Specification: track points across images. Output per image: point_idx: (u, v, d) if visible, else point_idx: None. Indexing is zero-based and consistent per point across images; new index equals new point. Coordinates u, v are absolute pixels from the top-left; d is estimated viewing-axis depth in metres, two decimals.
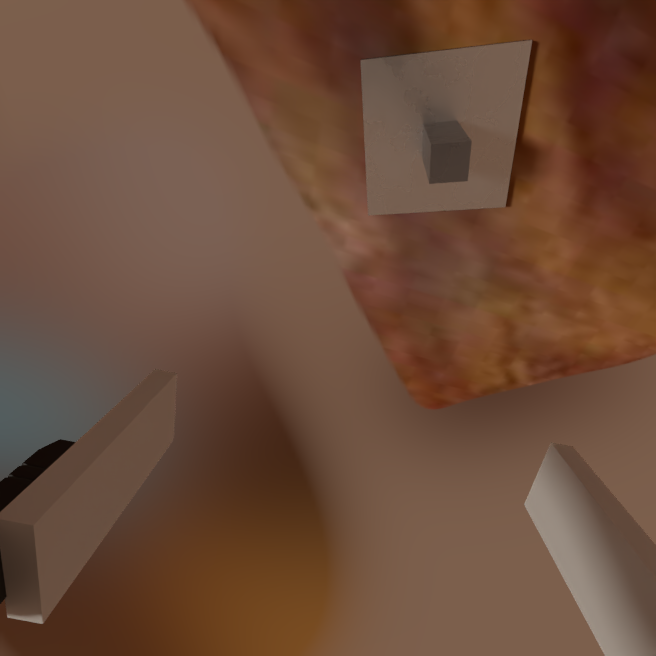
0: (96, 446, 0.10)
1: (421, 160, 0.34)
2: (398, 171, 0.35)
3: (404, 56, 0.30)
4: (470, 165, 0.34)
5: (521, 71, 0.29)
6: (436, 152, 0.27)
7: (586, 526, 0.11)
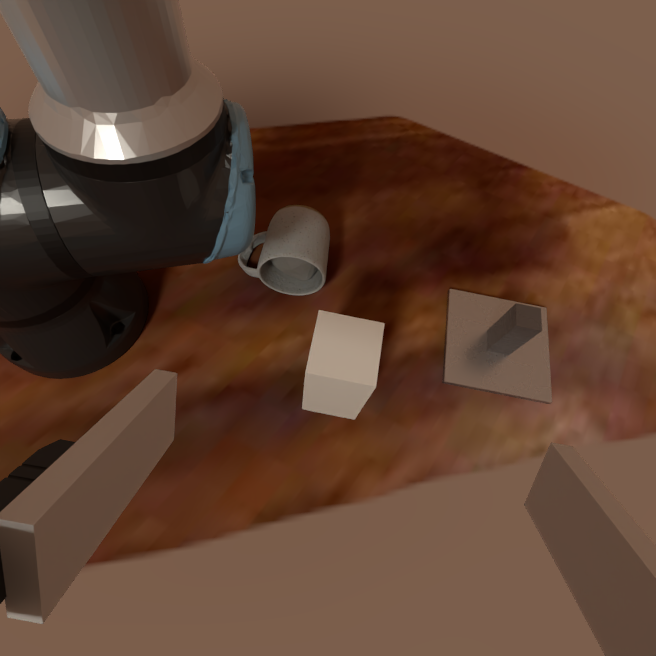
0: (96, 446, 0.10)
1: (511, 355, 0.46)
2: (517, 372, 0.45)
3: (446, 354, 0.46)
4: None
5: (464, 294, 0.49)
6: (521, 323, 0.40)
7: (586, 526, 0.11)
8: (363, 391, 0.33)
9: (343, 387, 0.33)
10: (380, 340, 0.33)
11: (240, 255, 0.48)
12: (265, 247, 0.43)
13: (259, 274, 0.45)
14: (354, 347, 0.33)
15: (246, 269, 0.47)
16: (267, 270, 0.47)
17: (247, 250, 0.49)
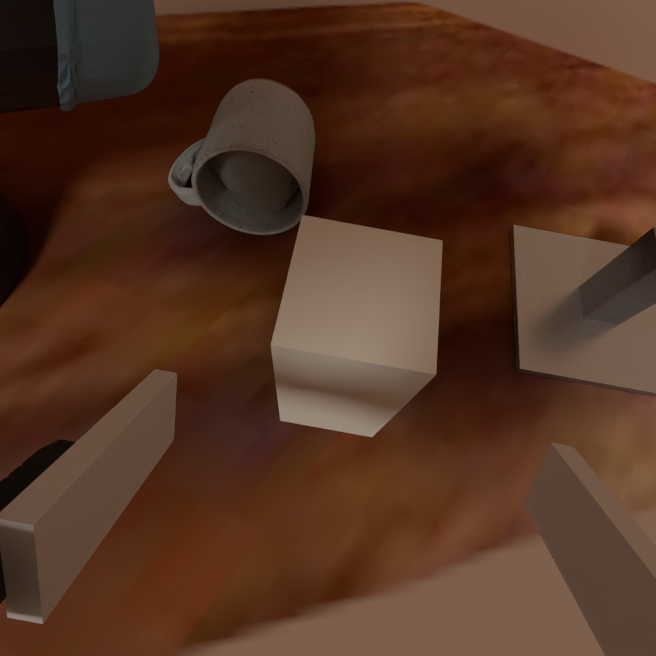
0: (96, 446, 0.10)
1: (622, 325, 0.28)
2: (637, 352, 0.28)
3: (519, 325, 0.28)
4: None
5: (537, 233, 0.31)
6: None
7: (586, 526, 0.11)
8: (402, 386, 0.15)
9: (358, 378, 0.15)
10: (437, 274, 0.15)
11: (172, 173, 0.30)
12: (203, 143, 0.25)
13: (197, 194, 0.27)
14: (381, 288, 0.15)
15: (179, 191, 0.28)
16: (213, 192, 0.29)
17: (185, 166, 0.31)
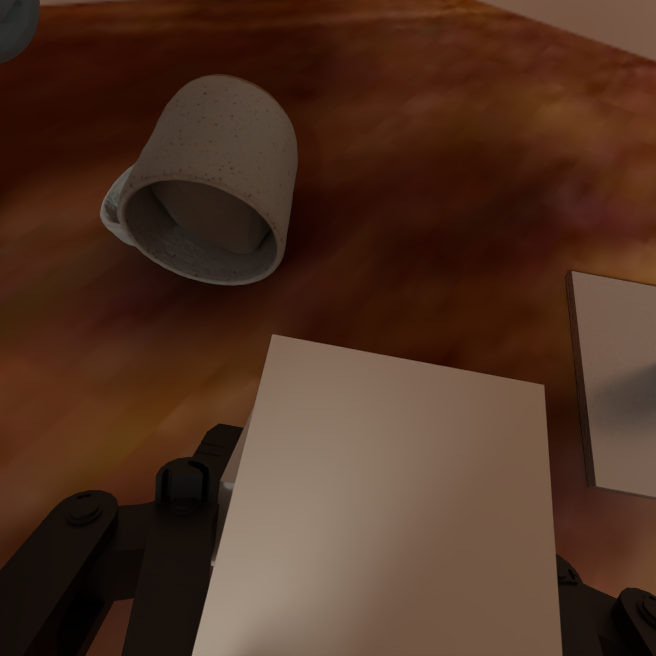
0: None
1: None
2: None
3: (590, 418, 0.20)
4: None
5: (603, 282, 0.24)
6: None
7: None
8: None
9: None
10: (542, 467, 0.07)
11: (107, 201, 0.22)
12: (134, 166, 0.18)
13: (129, 235, 0.19)
14: (433, 508, 0.07)
15: (111, 228, 0.21)
16: (158, 229, 0.21)
17: None
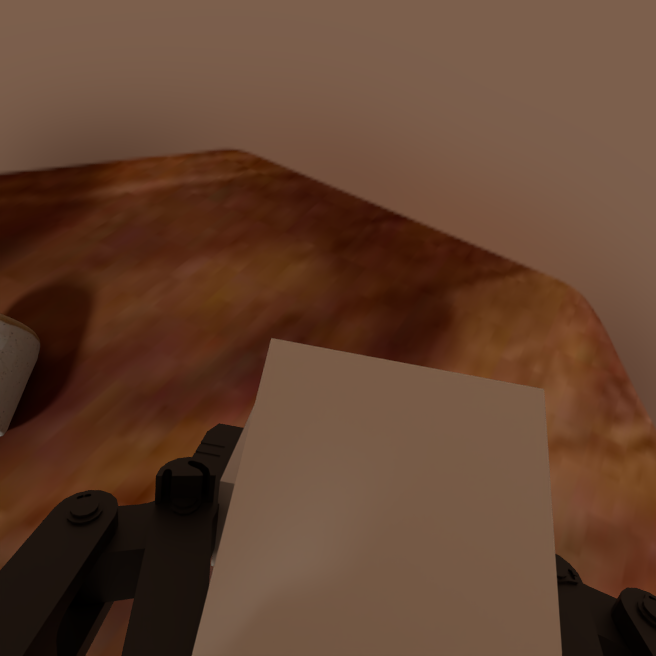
0: None
1: None
2: None
3: None
4: None
5: None
6: None
7: None
8: None
9: None
10: (541, 472, 0.07)
11: None
12: None
13: None
14: (432, 513, 0.07)
15: None
16: None
17: None
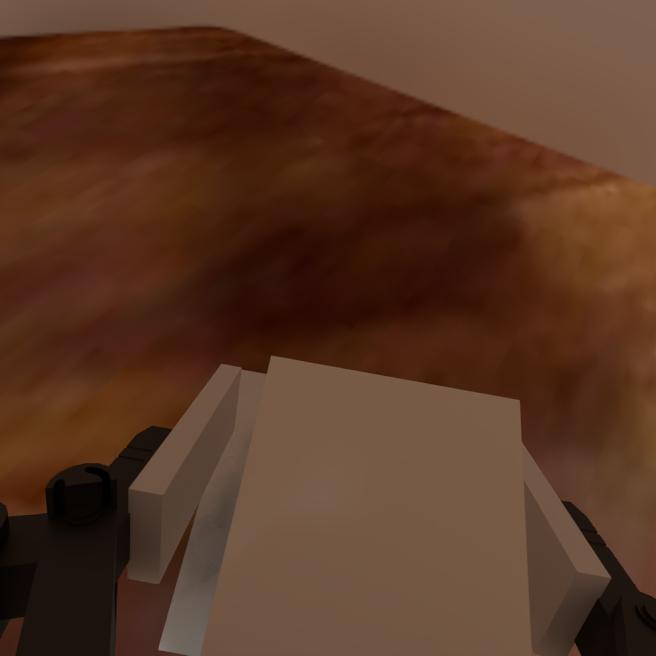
0: (192, 430, 0.11)
1: None
2: None
3: (185, 558, 0.17)
4: None
5: None
6: None
7: None
8: None
9: None
10: (516, 476, 0.08)
11: None
12: None
13: None
14: (416, 514, 0.08)
15: None
16: None
17: None
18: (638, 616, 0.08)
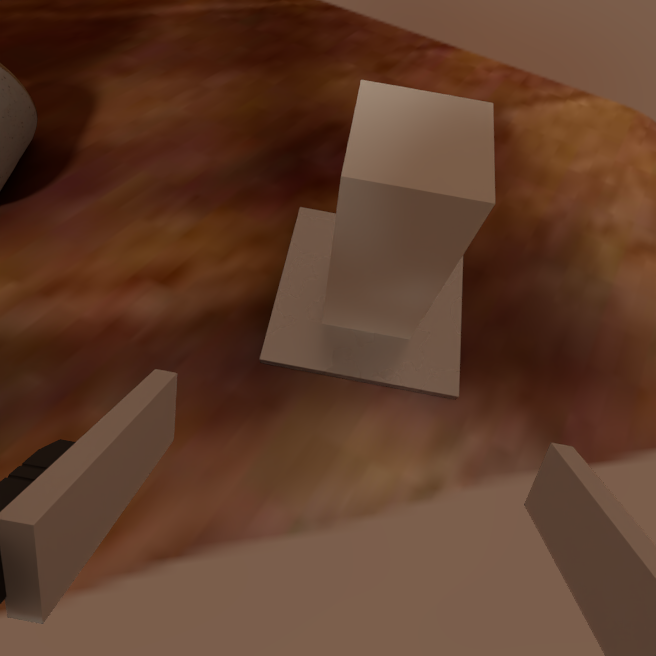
0: (96, 446, 0.10)
1: None
2: (401, 342, 0.25)
3: (273, 312, 0.25)
4: None
5: (324, 215, 0.29)
6: None
7: (586, 526, 0.11)
8: (457, 233, 0.16)
9: (416, 225, 0.16)
10: (490, 128, 0.16)
11: None
12: None
13: None
14: (439, 137, 0.16)
15: None
16: None
17: None
18: None
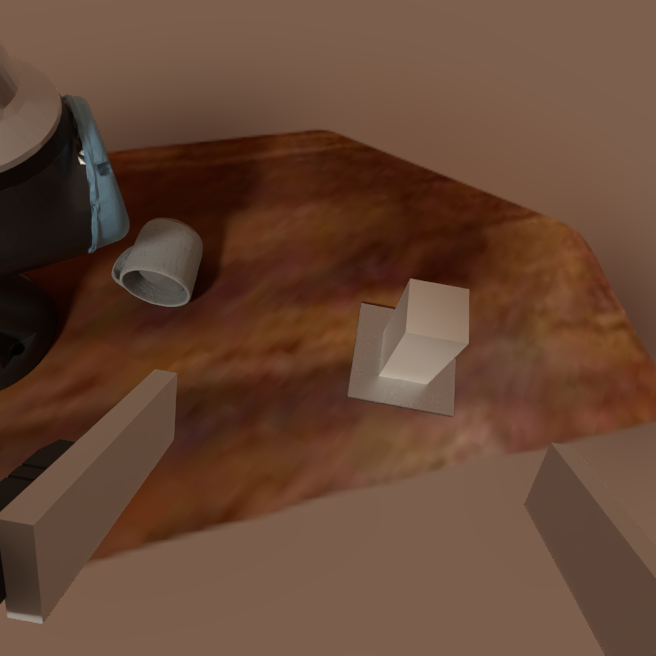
0: (96, 446, 0.10)
1: None
2: (422, 386, 0.46)
3: (352, 369, 0.46)
4: None
5: (375, 308, 0.50)
6: None
7: (586, 526, 0.11)
8: (453, 350, 0.37)
9: (435, 346, 0.37)
10: (467, 304, 0.37)
11: (115, 267, 0.48)
12: (126, 260, 0.44)
13: (124, 286, 0.45)
14: (445, 310, 0.36)
15: (117, 281, 0.47)
16: (138, 281, 0.47)
17: (123, 262, 0.49)
18: None
